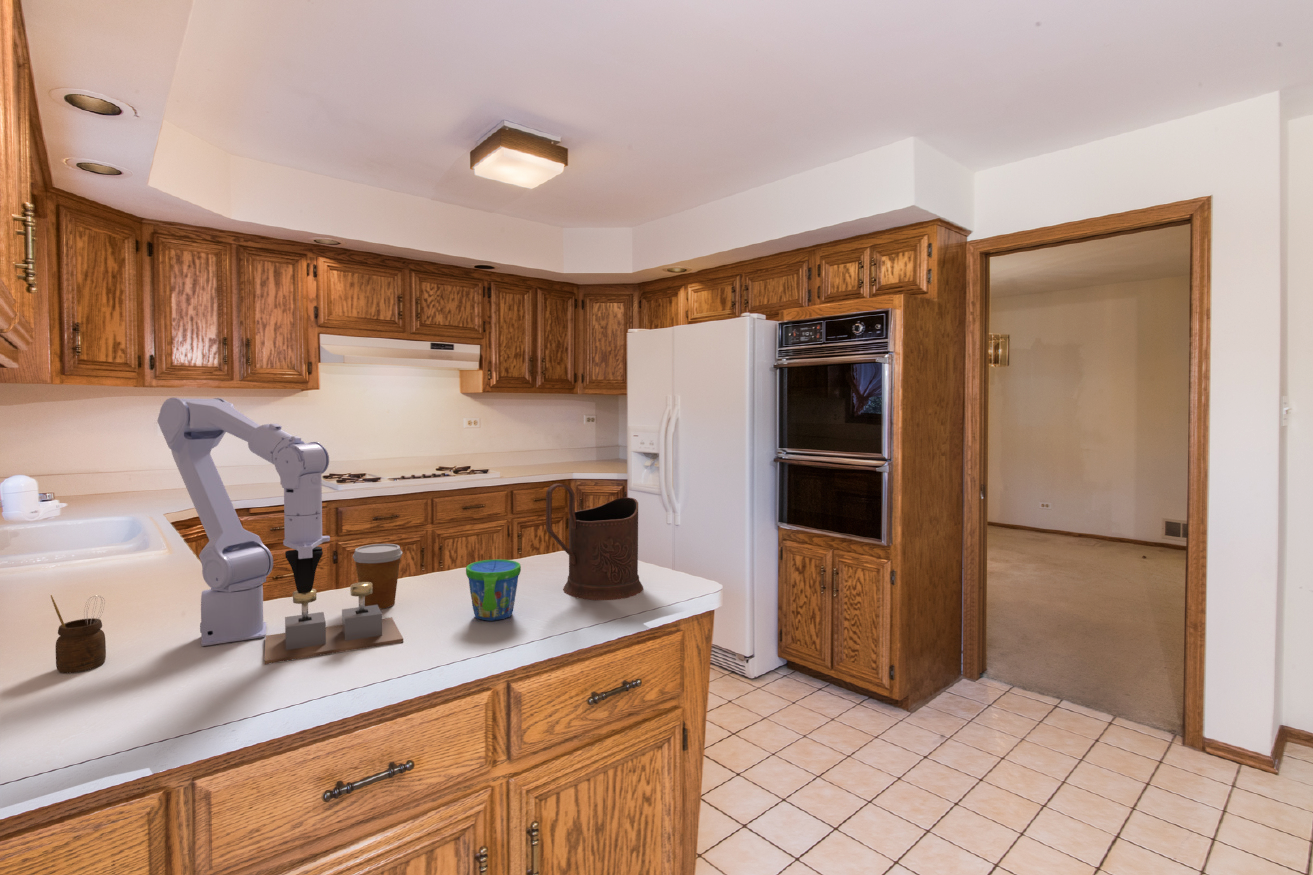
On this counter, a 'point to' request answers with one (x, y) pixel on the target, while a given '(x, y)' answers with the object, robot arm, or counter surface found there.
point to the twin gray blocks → (315, 627)
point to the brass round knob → (361, 593)
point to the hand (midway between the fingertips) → (304, 591)
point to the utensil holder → (80, 643)
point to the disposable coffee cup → (379, 572)
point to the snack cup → (493, 588)
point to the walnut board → (329, 643)
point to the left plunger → (304, 601)
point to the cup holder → (600, 548)
